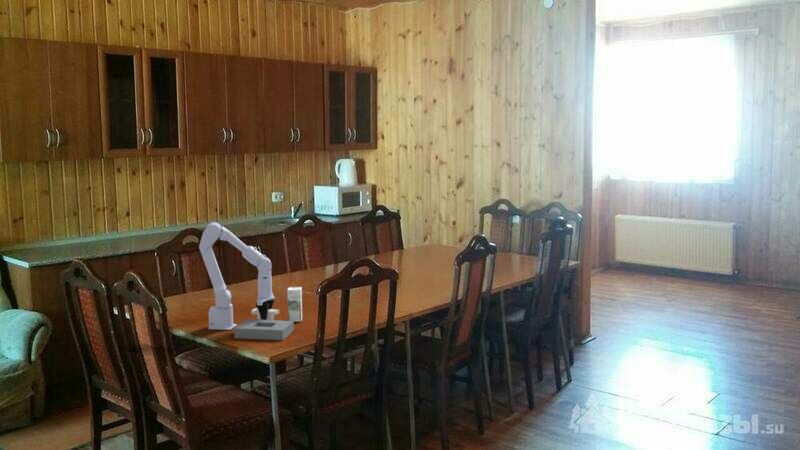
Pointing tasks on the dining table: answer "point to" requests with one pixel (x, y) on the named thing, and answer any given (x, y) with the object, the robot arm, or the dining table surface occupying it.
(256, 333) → the slotted board
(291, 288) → the syrup box
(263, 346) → the dining table surface
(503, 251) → the dining table surface
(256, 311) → the tee block
